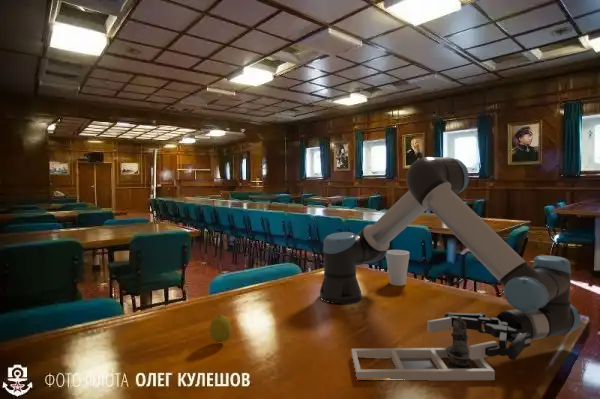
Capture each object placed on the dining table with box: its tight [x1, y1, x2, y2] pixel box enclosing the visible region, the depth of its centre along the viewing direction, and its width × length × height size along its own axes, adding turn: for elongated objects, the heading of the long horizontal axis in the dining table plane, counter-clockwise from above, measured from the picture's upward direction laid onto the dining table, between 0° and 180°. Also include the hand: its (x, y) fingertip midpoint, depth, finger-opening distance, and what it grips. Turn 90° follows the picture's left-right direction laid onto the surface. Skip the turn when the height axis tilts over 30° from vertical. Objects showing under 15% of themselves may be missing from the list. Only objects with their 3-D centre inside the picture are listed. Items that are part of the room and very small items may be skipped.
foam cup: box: [385, 249, 410, 287], centre depth 144 cm, size 10×9×13 cm
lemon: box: [209, 314, 232, 343], centre depth 95 cm, size 6×6×8 cm
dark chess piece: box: [446, 316, 473, 369], centre depth 80 cm, size 6×6×12 cm
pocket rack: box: [350, 347, 496, 381], centre depth 80 cm, size 29×10×2 cm, turn 88°
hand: (447, 338), depth 79 cm, fingers open, 13 cm apart
